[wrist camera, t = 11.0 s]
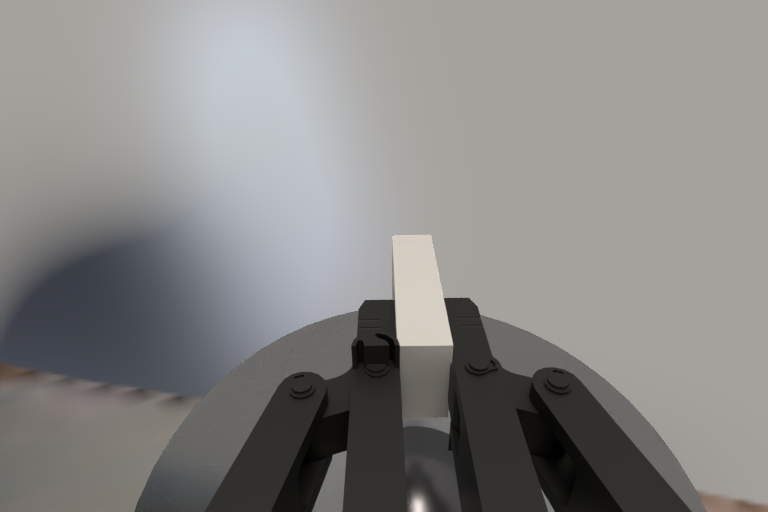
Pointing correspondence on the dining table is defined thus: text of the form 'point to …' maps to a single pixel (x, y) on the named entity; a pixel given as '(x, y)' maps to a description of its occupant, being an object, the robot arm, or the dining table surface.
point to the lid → (421, 448)
